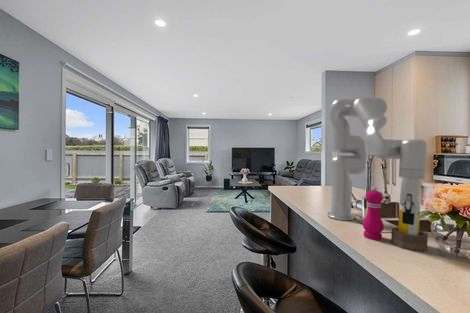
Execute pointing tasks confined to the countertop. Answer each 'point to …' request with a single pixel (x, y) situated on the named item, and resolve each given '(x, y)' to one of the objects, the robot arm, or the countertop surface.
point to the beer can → (406, 227)
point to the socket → (409, 240)
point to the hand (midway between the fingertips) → (409, 221)
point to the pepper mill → (373, 215)
